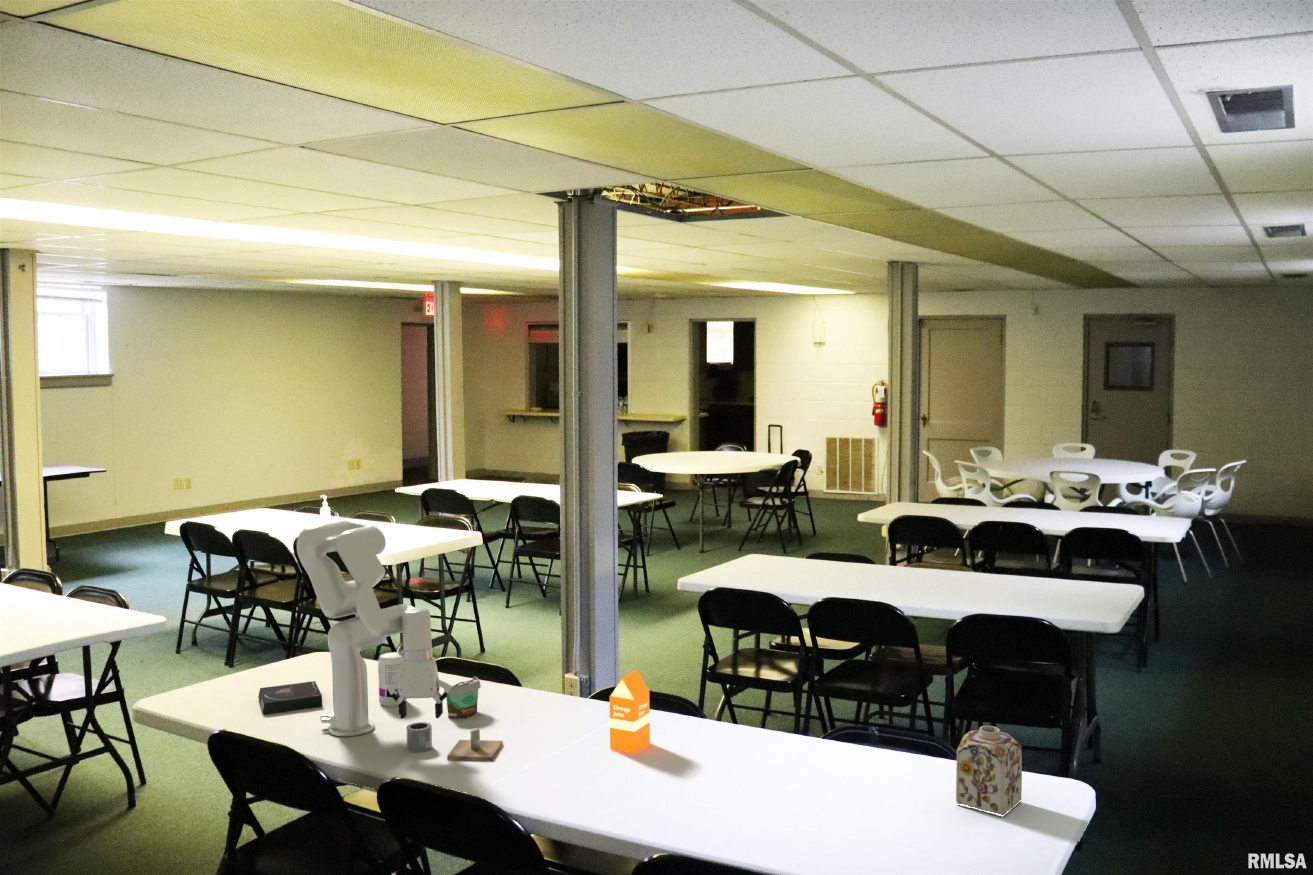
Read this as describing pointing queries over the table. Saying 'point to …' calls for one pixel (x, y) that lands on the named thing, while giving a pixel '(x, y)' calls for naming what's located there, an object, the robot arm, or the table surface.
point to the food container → (463, 699)
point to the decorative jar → (989, 770)
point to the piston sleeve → (419, 737)
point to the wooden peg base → (475, 748)
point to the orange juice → (630, 714)
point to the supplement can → (388, 676)
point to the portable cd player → (290, 697)
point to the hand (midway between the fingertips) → (421, 716)
